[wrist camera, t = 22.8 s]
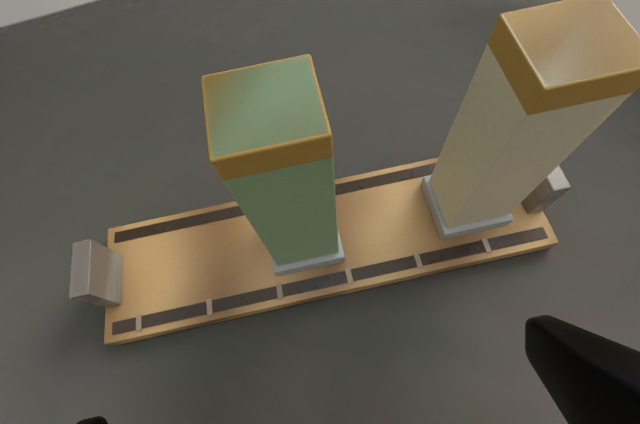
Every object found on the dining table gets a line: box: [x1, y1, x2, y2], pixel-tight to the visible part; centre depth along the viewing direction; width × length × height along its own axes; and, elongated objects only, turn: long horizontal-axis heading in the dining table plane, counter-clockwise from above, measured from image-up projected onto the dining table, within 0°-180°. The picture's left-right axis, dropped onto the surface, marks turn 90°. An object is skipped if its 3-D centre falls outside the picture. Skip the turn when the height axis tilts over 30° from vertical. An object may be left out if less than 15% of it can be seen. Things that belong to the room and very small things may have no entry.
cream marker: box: [421, 0, 640, 240], centre depth 17 cm, size 4×4×12 cm
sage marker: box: [201, 54, 345, 276], centre depth 16 cm, size 4×4×12 cm
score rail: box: [69, 157, 571, 346], centre depth 21 cm, size 26×7×4 cm, turn 102°
